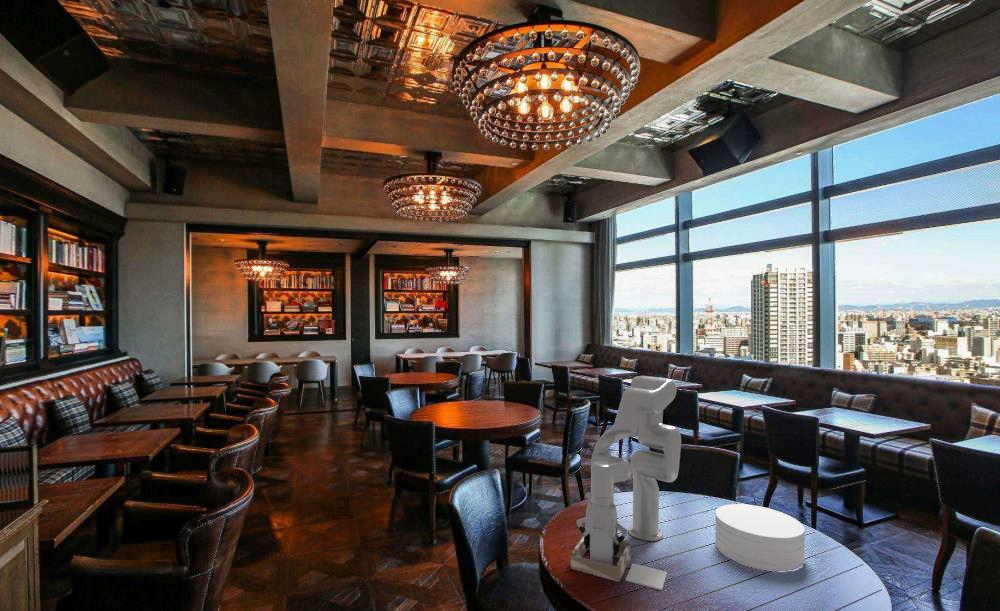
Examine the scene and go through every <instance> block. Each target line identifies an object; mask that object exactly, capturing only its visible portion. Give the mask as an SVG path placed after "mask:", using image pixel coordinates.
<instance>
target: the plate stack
mask: <svg viewBox="0 0 1000 611" xmlns="http://www.w3.org/2000/svg"><path fill="white" fill-rule="evenodd" d="M714 524H715V526H714V530H715V531H714V532H715V534H714V535H715V536H714V538H715V539H714V540H715V541H714V542H715V543H714V544H716V545H715V547H716V549H717V548H718V549H717V550H718V551H719V552H720V554H722V555H723V554H724V556H725V557H726V556H727V557H726V558H728V559H730V560H731V559H732V561H733V560H734V562H735V561H736V562H735V563H737V562H738V563H737V564H740V565H742V564H743V566H744V567H748V566H749V568H751V567H752V569H755V568H757V569H756V570H759V569H762V570H761V571H763V570H771V571H788V570H794V569H796V568H799V567H801V566H802V565H803V564H804V565H805V552H806V551H805V547H806V544H805V539H806V538H805V532H806V529H805V527H804V524H802V523H801V522H800V521H799V520H798V519H796V518H795V517H793V516H791V515H789V514H786V513H785V512H781V511H779V510H775V509H772V508H769V507H764V506H760V505H754V504H747V503H746V504H745V503H744V504H743V503H730V504H725V505H721V506H718V507H717V508H716V510H715V523H714Z"/></svg>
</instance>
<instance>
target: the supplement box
mask: <svg viewBox="0 0 1000 611" xmlns="http://www.w3.org/2000/svg"><path fill="white" fill-rule="evenodd" d="M612 553H613V538H609V537H608V532H607V531H604V530H601V529H596V528H591V534H590V550H589V560H593V561H597V562H601V563H605V564H609V565H612V566H613V556H612Z"/></svg>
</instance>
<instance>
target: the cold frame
mask: <svg viewBox="0 0 1000 611" xmlns="http://www.w3.org/2000/svg"><path fill="white" fill-rule="evenodd" d="M589 535H590V533H589ZM614 543H615V542H614V540H613V553H612V557H616V558H619V559H618V561H617V565H613V564H612V565H609V564H605V563H601V562H597V561H593V560H590V558H589V559H588V558H585V557H584V555H585V554H586V552H587V551H590V546H589V547H588V549H585V545H584V536H583V535H582V538H581V539H580V540H579V541H578V543H577V544H576V546H575V547H574V548H573V550H572V551H571V555H570V569H571V570H574V571H577V572H581V571H582V573H585V574H588V575H592V574H593V576H596V577H601V578H604V579H608V580H611V581H615V582H618V583H620V582H621V579H622V578H623V576H624V574H625V571H626V569H627V567H628V565H629V564H630V560H631V547H632V545H631V543H632V542H631V540H627V539H626V540H625V539H624V540H623V541H621V542H620V547H619V553H617V555H616V556H614ZM623 573H624V574H623Z"/></svg>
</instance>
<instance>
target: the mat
mask: <svg viewBox="0 0 1000 611" xmlns="http://www.w3.org/2000/svg"><path fill="white" fill-rule="evenodd" d="M628 570H629V571H628V573H627V575H626V577H625V582H628V583H631V584H636V585H639V586H643V587H647V588H650V589H654V590H659V591H663V589H664V585H665V582H666V579H667V576H668V571H665V570H661V569H656V568H652V567H649V566H646V565H641V564H637V563H634V562H633V563H632V564H631V567H630V569H628Z"/></svg>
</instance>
